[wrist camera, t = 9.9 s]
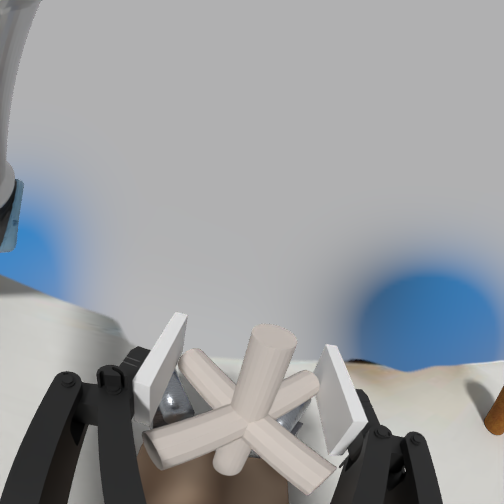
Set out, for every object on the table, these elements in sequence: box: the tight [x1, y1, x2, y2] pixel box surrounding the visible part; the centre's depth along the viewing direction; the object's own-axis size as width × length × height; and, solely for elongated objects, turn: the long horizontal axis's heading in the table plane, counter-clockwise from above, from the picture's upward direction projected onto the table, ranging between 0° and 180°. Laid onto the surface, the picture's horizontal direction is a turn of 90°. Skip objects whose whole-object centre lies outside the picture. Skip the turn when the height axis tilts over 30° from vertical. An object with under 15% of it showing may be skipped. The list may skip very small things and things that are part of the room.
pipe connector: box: [142, 324, 337, 496], centre depth 11 cm, size 10×10×10 cm
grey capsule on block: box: [150, 368, 194, 430], centre depth 25 cm, size 7×4×8 cm, turn 28°
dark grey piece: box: [276, 398, 311, 436], centre depth 25 cm, size 7×4×8 cm, turn 148°
